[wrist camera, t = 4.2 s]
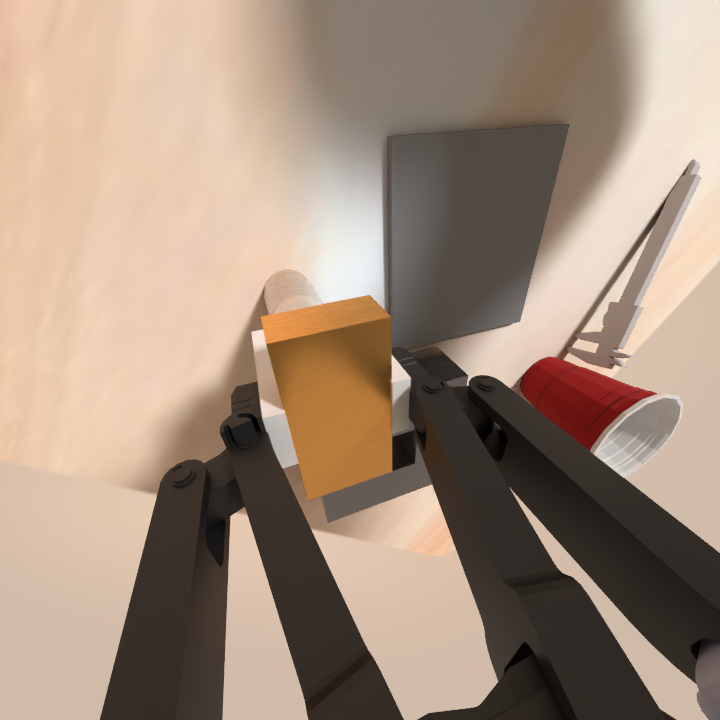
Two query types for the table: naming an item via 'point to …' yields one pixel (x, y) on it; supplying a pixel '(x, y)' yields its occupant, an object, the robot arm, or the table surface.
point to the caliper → (639, 279)
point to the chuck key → (331, 381)
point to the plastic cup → (603, 412)
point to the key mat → (465, 227)
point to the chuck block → (396, 453)
